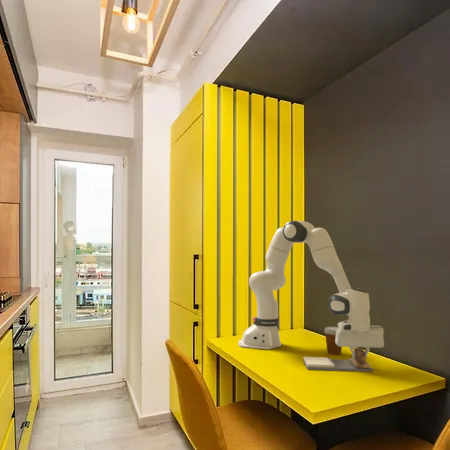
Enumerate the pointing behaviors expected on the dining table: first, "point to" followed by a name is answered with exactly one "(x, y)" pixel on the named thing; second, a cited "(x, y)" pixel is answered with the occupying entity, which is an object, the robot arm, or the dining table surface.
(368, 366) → the stub
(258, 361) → the dining table surface
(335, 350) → the disposable coffee cup
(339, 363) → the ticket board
